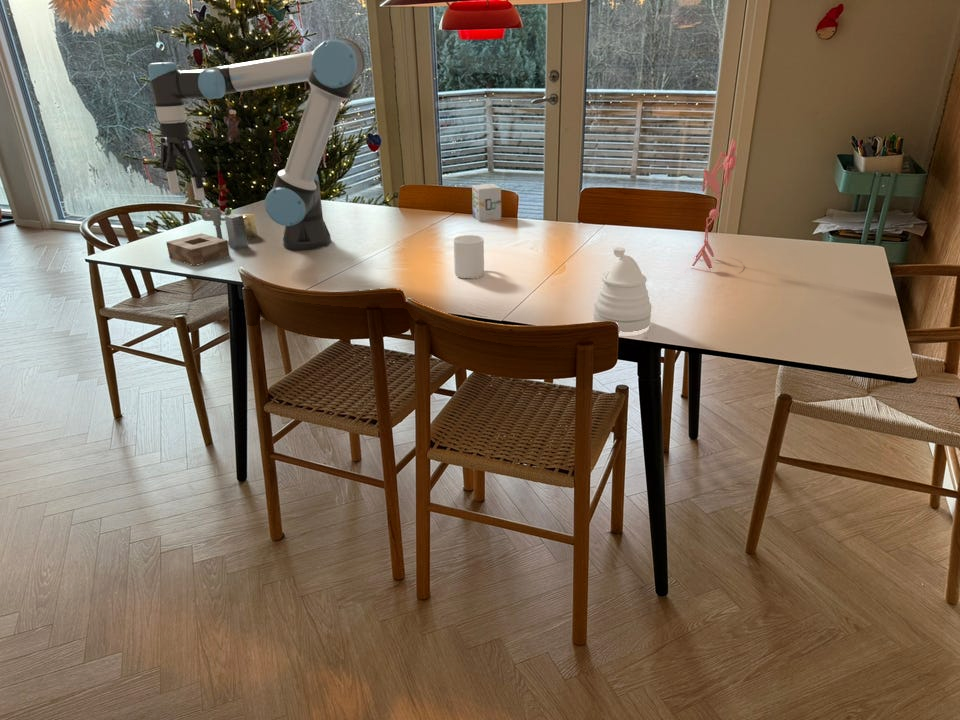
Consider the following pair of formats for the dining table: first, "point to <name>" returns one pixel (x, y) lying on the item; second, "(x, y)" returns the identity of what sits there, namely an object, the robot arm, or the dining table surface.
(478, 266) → the mug
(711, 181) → the pink branching twig
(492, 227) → the dining table surface
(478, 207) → the ink box
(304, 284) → the dining table surface
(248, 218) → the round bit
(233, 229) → the square bit
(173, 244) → the bore block
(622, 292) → the honey pot
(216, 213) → the mechanical component
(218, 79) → the robot arm
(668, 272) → the dining table surface
